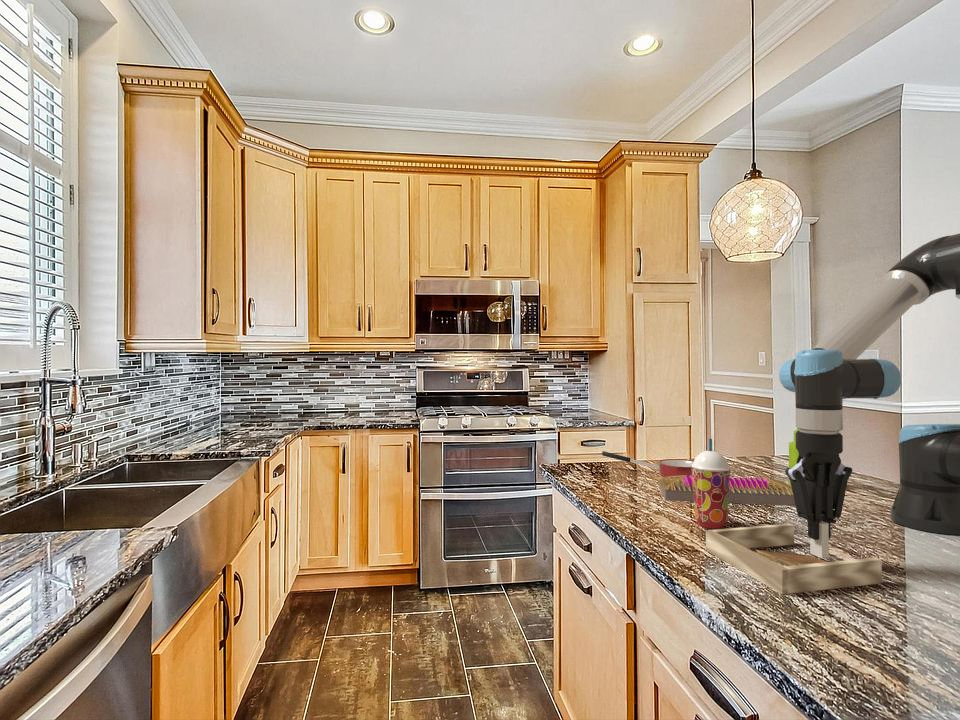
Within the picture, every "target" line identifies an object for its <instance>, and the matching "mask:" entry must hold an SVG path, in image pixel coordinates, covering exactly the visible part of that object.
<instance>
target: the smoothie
mask: <svg viewBox="0 0 960 720" xmlns="http://www.w3.org/2000/svg"><path fill="white" fill-rule="evenodd" d="M693 461H694V462H693V464H691V467H692V480H693V494H694V501H693V508H694V518H695V520H696V521H697V524H698V525H699V526H700V527H702V528H706V529H710V530H717V529H724V528H725V525H726V523H728V513H729V512H728V511H729V503H728V497H729V481H730V476H731V469H732V468H731V466H730V465H729V462H728V460H727V459H726V457H725V456H724V455H722V454H721V453H720V452H718V451H715V450H713V439H712V438H709V439H708V450H704V451H701V452H700V453H698V454H697V455H696V456H695V458H694V460H693Z"/></svg>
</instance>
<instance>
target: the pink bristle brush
mask: <svg viewBox="0 0 960 720" xmlns="http://www.w3.org/2000/svg"><path fill="white" fill-rule="evenodd" d="M671 477H673V478H671ZM675 477H678V476H670V477H668V478H667V477H662V476H659V477H655V480H656V481H657V483H658V485H659V486H658V487H659V491H660V493H661V495H662V496H663V498H664V501H670V502H671V501H673V502H675V501H677V502H694V494H693V480H692V476H691V475H690V476H686V475H681V477H682V478H680V476H679V477H678V478H679V479H678V478H675ZM684 477H685V480H682V479H683V478H684ZM675 479H676V480H675ZM728 504H746V505H747V504H748V505H769V506H794V507H796V505H795V501H794V496H793V492H792V487H791V486H790V485H789V483H787V482H785V481H782V480H777V479H773V478H768V477H763V478H761V477H757V478H755V476H753V477H744V476H743V477H739V476H737V477H734V476H732V477H730V481H729V497H728Z"/></svg>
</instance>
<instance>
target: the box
mask: <svg viewBox="0 0 960 720" xmlns="http://www.w3.org/2000/svg"><path fill="white" fill-rule="evenodd" d="M794 545H795V524H792V523H789V522H788V523H780V524H768V525H755V526H742V527H732V528H731V527H730V528H720V529H707V530H705V551H707V552H709V553H710V554H712V555H713V556H715V557H717V558H718V559H720V560H722V561H724V562H726V563H728V564H729V565H731V566H732V567H734V568H736V569H738V570H739V571H741V572H743V573H744V574H747V575H748V576H750V577H752V578H753V579H755V580H757V581H759V583H762V584H764V585H765V586H767V587H769V588H770V589H772V590H774V591H776V592H778V593H779V594H781V595H789V594H790V595H791V594H798V593H807V592H817V591H825V590H834V589H843V588H851V587H861V586H869V585H870V586H871V585H876V584H877V585H878V584H882V583H883V579H882V578H883V577H882V576H883V574H882V573H883V572H882V569H883V568H882V567H883V565H882V559H880V558H877V557H875V556H874V557H866V558H856V559H847V560H845V559H844V560H835V561H826V562H824V563H814V564H804V565H794V566H785V565H782V564H780V563H778V562H775V561H773V560H770V559H767V558H765V557H763V556H761V555H759V554H758V553H757V552H755V551H753V550H751V549H760V548H762V549H763V548H768V547H769V548H771V547H780V546H794Z"/></svg>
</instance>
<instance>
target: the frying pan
mask: <svg viewBox="0 0 960 720" xmlns="http://www.w3.org/2000/svg"><path fill="white" fill-rule="evenodd" d="M601 455H602V456H603V457H606V458H610V459H615V460H618V461H622V462H626V463H633V464H637V465H641V466H645V467H649V468H653V469H657V470H659V475H660V477H667V478H668V477H670V476H678V477H679V476H680V478H682V477H681V475H686V476H690V475H691V476H692V467H691V464H693V462H694V460H692V459H684V458H665V459H661V460H659V462H658V465H657V464H653V463H650V462H649V463H648V462H645V461H641V460H636V459H633V458H631V457H627V456H624V455H620V454H616V453H611V452H608V451H604V450H602V452H601ZM678 477H675V478H678ZM671 478H673V477H671ZM678 479H679V478H678ZM675 480H676V479H675ZM682 480H685V477H684V478H683V479H682Z"/></svg>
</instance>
